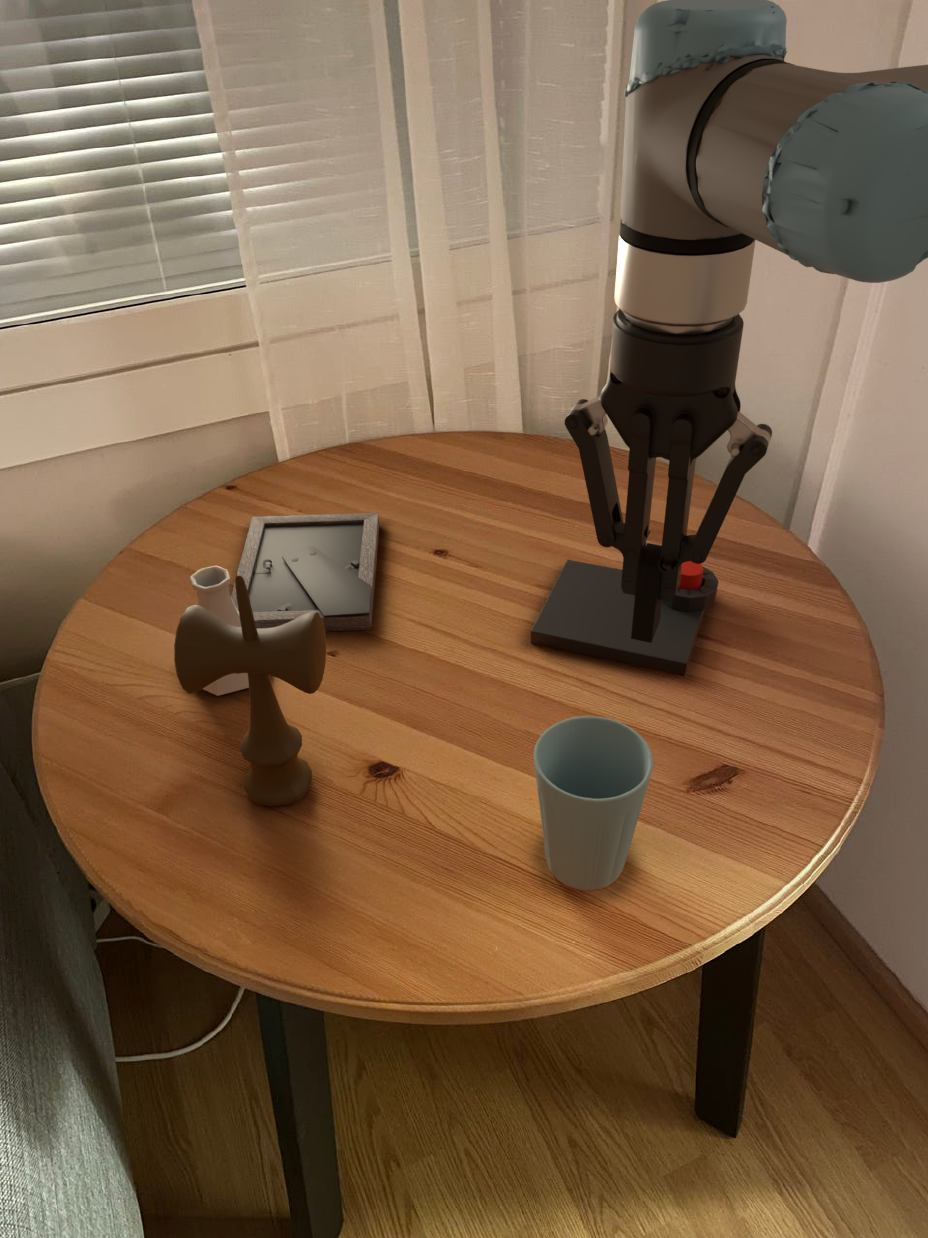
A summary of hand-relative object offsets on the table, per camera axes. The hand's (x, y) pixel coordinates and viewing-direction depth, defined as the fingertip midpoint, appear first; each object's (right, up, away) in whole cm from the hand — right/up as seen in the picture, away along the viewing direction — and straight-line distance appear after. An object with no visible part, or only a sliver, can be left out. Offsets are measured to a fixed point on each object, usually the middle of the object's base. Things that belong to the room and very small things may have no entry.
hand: (645, 629), depth 73 cm
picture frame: (-29, +5, +27) cm, 40 cm away
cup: (-5, -16, -1) cm, 17 cm away
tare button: (+7, +4, +20) cm, 22 cm away
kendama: (-27, -12, +5) cm, 30 cm away
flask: (-34, -4, +16) cm, 38 cm away
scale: (+1, +1, +20) cm, 20 cm away
